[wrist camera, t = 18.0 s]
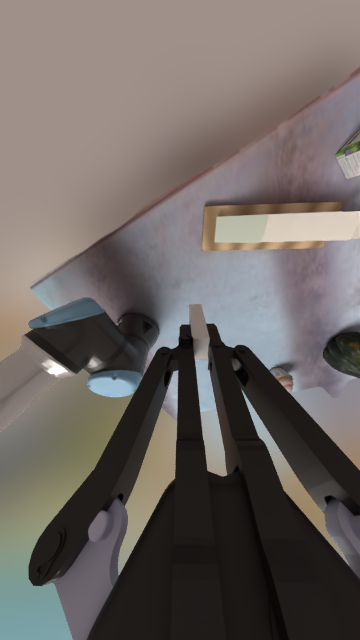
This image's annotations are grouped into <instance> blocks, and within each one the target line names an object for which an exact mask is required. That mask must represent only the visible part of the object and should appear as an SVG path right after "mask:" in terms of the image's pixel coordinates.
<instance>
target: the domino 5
mask: <svg viewBox="0 0 360 640" xmlns="http://www.w3.org/2000/svg"><path fill="white" fill-rule="evenodd" d="M359 222H360V211H353V212H342V213H341V216H340V218H339V220H338V222H337V224H336V226H335V228H334V230H333V232H332V234H331V236H330V238H329V240H350V238H351V237H352V235H353V233H354V231H355V229H356V228H357V226H358V224H359Z"/></svg>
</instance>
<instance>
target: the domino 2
mask: <svg viewBox="0 0 360 640" xmlns="http://www.w3.org/2000/svg"><path fill="white" fill-rule="evenodd" d="M292 216H293V213H289V214H269V215H267V219H266V223H265V227H264V231H263V235H262V239H261V242H284V240H285V237H286V234H287V231H288V228H289V225H290V222H291V219H292Z"/></svg>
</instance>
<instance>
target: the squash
mask: <svg viewBox="0 0 360 640" xmlns="http://www.w3.org/2000/svg"><path fill="white" fill-rule="evenodd" d="M323 358H324V359H325V361H326V362H327V363H328V364H329V365H330V366H331V367H333V368H334V369H336V370H338V371H340V372H342V373H345V374H348V375H351V376H354V377H357V378H360V333H359V332H350V333H347V334H345V335H339V336H337V337H336V338H335V341H331V342H329V343H328V346H327V347H326V348H325V350H324V352H323Z"/></svg>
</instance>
